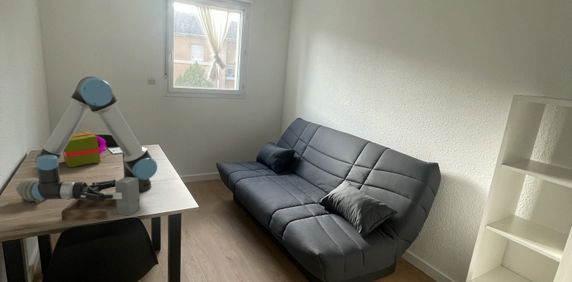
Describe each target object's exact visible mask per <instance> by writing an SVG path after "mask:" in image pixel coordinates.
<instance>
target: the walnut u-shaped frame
mask: <svg viewBox="0 0 572 282" xmlns="http://www.w3.org/2000/svg"><path fill="white" fill-rule="evenodd" d="M110 207H113V208H114V207H115V208H117V200H116V199H105V201H104V202H102V201H101V202H98V201H93V200H88V199H73V200H72V202H70V203H69V204H68V205H67V206H66V207H64V209H63V210H62V211H61V221H86V220H87V221H88V220H90V221H91V220H93V221H94V220H95V221H97V220H107V219H108V209H106V208H110ZM79 208H104V209H79Z"/></svg>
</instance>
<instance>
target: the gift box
mask: <svg viewBox="0 0 572 282" xmlns="http://www.w3.org/2000/svg"><path fill="white" fill-rule="evenodd" d="M106 143H108V142H107V140H106V139H104V138H102V137H101V136H99V135H98V134H97V135H96V134H95V133H94V132H93V131H91V130H90V131H84V132H80V133H74V134H73V136H72V137H71V139H70V141H69V142H68V144H67V146H66V147H65V149H64V151H63V152H62V155H63V160H64V162H65V164H66V166H68V168H74V167H79V166H84V165H88V164H89V165H90V164H96V163H101V157H100V156H101V155H102V154H103V153H104V152H105V151H106V149H107V148H108V146H107V145H106Z"/></svg>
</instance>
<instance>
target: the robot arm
mask: <svg viewBox="0 0 572 282" xmlns="http://www.w3.org/2000/svg"><path fill="white" fill-rule="evenodd" d="M70 99H71V101H70V103H69V105H68V107H67V108H66V110H65V111H64V113H63V114H62V117H61V118H60V120H59V122H58V123H57V125H56V127H55V128H54V129H53V131H52V133H51V135H50V136H49V138H47V139H48V140H47V141H46V143H45V145H44V146H43V148H42V150H41V151H40V152H39V153H38V154H37V155H36V157H35V161H34V162H35V165H36V170H37V177H38V178H37V179H39V182H38V183H36V184H35V185H34V186H33V191H32V194H33V196H34V198H36V199H39V200H43V199H45V200H44V201H47V200H68V201H70V200H75V199H88V200H93V201H98V202H101V201H102V202H104V201H105V199H122V193H116V192H104V193H103V192H102V191H103V190H107V189H111V188H115V182H116V181H117V180H116V179H111V180H104V181H99V182H97V181H96V182H92V183H91V184H90V185H88V184H87V183H86V182H85V181H61V178H60V168H59V167H60V166H59V164H60V162H59V159H60V158H61V156H62V155H63V151H64V149H65V147H66V146H67V144H68V142H69V141H70V139H71V137H72V136H73V134H75V132H76V131H77V129H78V127H79V125H80V123H81V122H82V120H83V119H84V118H85V116H86V114H87V112H88V111H89V110H90V111H91V112H92V113H93V114H97V115H98V117H99V118H100V120H101V121H102V122H103V124H104V126H105V127H106V129H107V130H108V132H109V134H110V135H111V136H112V138H113V140H114V141H115V143H116V144H117V146H118V147H119V149H120V151H121V152H122V163H123V177H122V179H123V178H126V177H132V178H138V185H139V193H142V192H146V191H148V190H150V189H151V188H152V182H151V178H152V177H154V176H155V174H156V173H157V171H158V163H157V162H156V160H155V159H154V158H152V156H151V154H150V153H149V151H148V149H147V147H145V146H141V144H140V142H139V140H138V139H137V137H136V136H135V134H134V133H133V131H132V129H131V128H130V126H129V124H128V123H127V121H126V120H125V118H124V116H123V114H122V113H121V111H120V109H119V108H118V105H117V104H118V100H117V98H116V96H115V94H114V92H113V88H112V86H111V84H109V82H108V81H106V80H104V79H102V78H100V77H96V76H86V77H83V78H82V79H81V80H79V81H78V83H77V85H76V87H75V89H74V91H73V93H72V95H71V97H70Z"/></svg>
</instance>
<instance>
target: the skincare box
mask: <svg viewBox="0 0 572 282" xmlns="http://www.w3.org/2000/svg"><path fill="white" fill-rule="evenodd" d="M114 188H115V193H122V199H116V200H117V206H116V208H117V209H116V211H117V214H118V215H122V216H123V215H124V216H131V215H133V214H134V213H136V212H138V211H139V210H140V209H141V204H140V202H141V201H140V192H139V185H138V178H132V177H126V178H123V177H122V178H120V179H119V180H116V182H115V187H114Z"/></svg>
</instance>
